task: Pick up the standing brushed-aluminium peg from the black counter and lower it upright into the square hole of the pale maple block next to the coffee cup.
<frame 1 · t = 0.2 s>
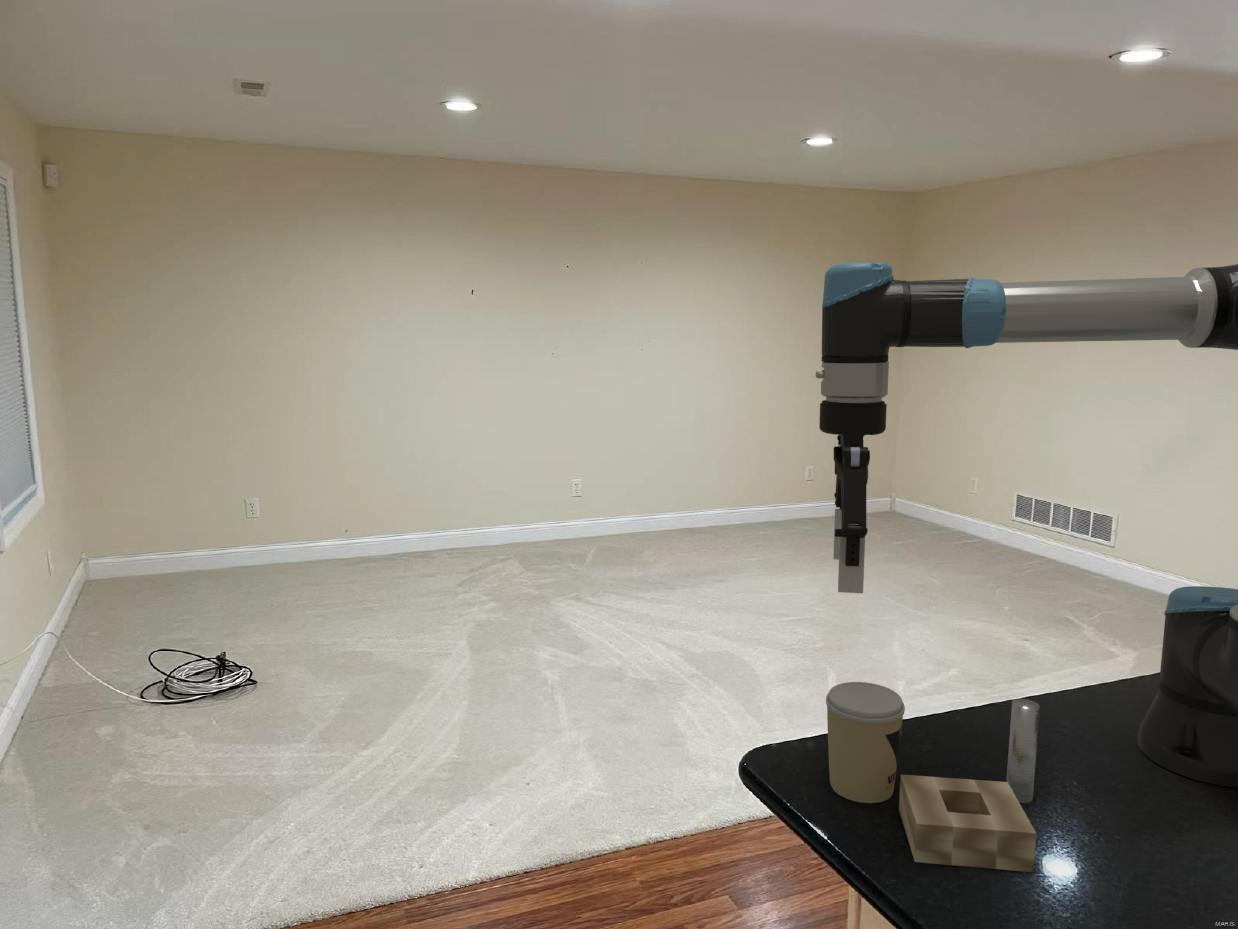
hand: (847, 574, 100), 27 cm above the countertop, fingers open, 13 cm apart
hole block: (961, 839, 93), on the countertop
coffee cup: (861, 787, 104), on the countertop
peg: (1018, 796, 102), on the countertop
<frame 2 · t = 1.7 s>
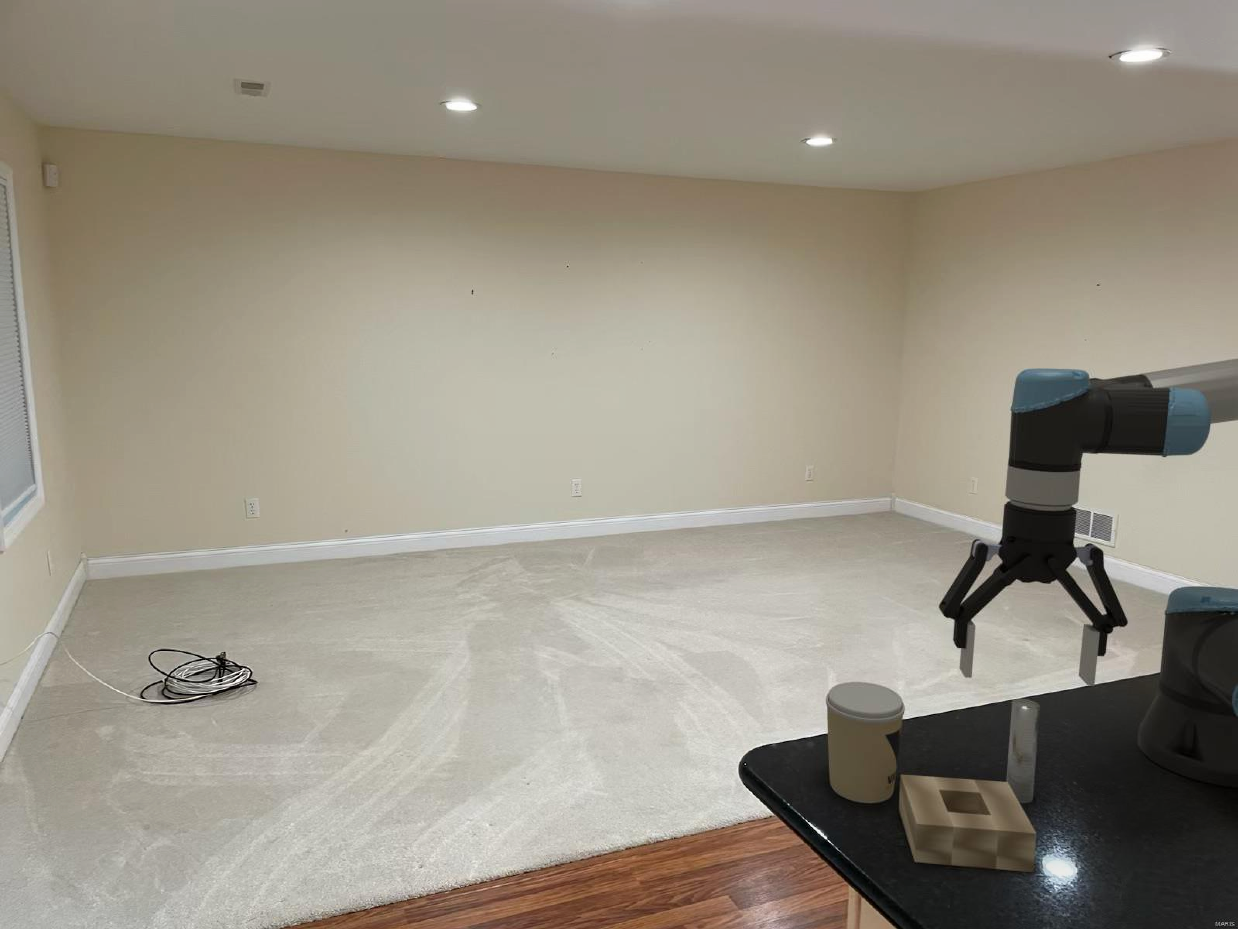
hand: (1025, 677, 99), 15 cm above the countertop, fingers open, 13 cm apart
nothing on the countertop moved.
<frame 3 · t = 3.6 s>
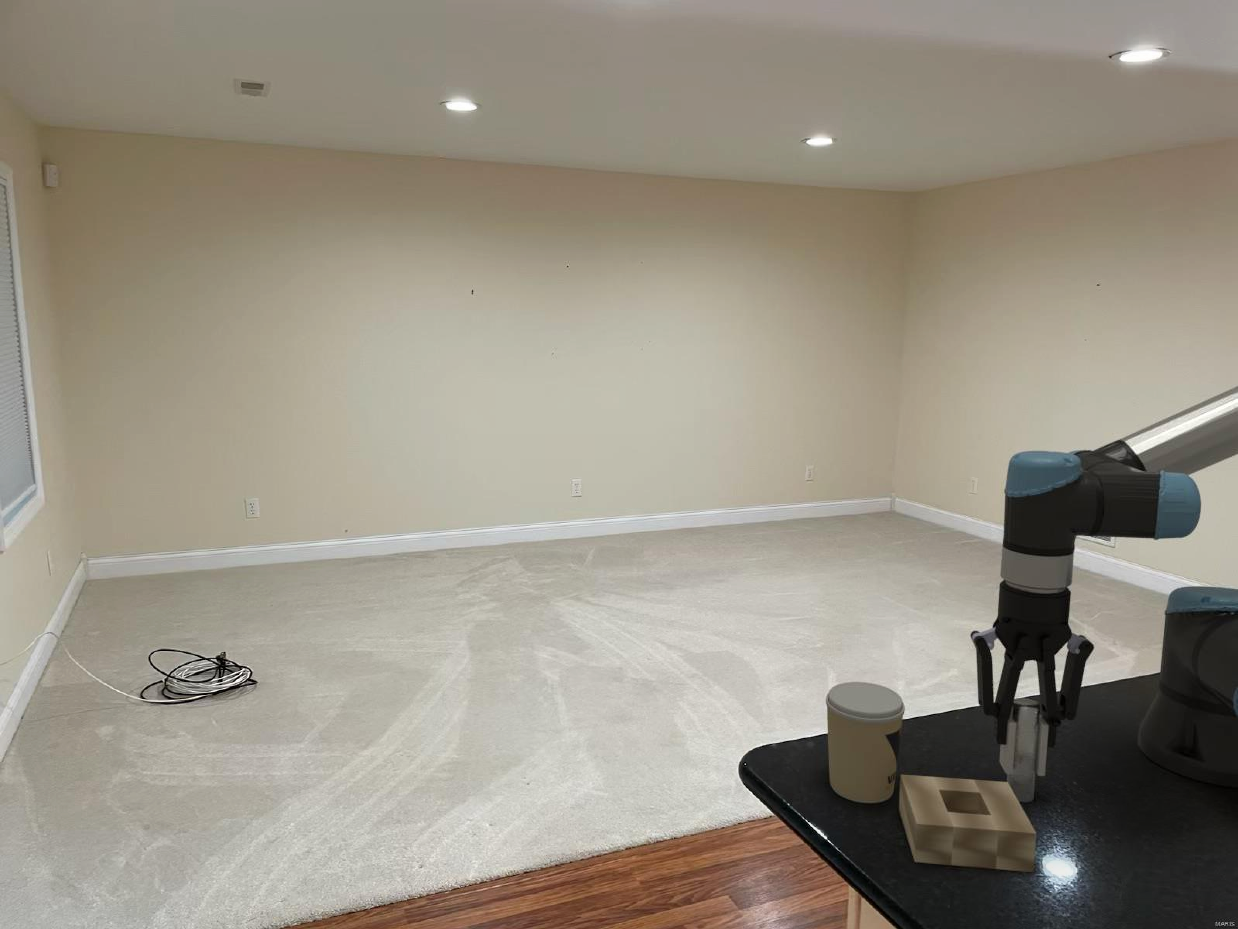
hand: (1021, 768, 101), 4 cm above the countertop, fingers closed on peg, 3 cm apart
peg: (1019, 795, 102), on the countertop, touching gripper
everything else where it was.
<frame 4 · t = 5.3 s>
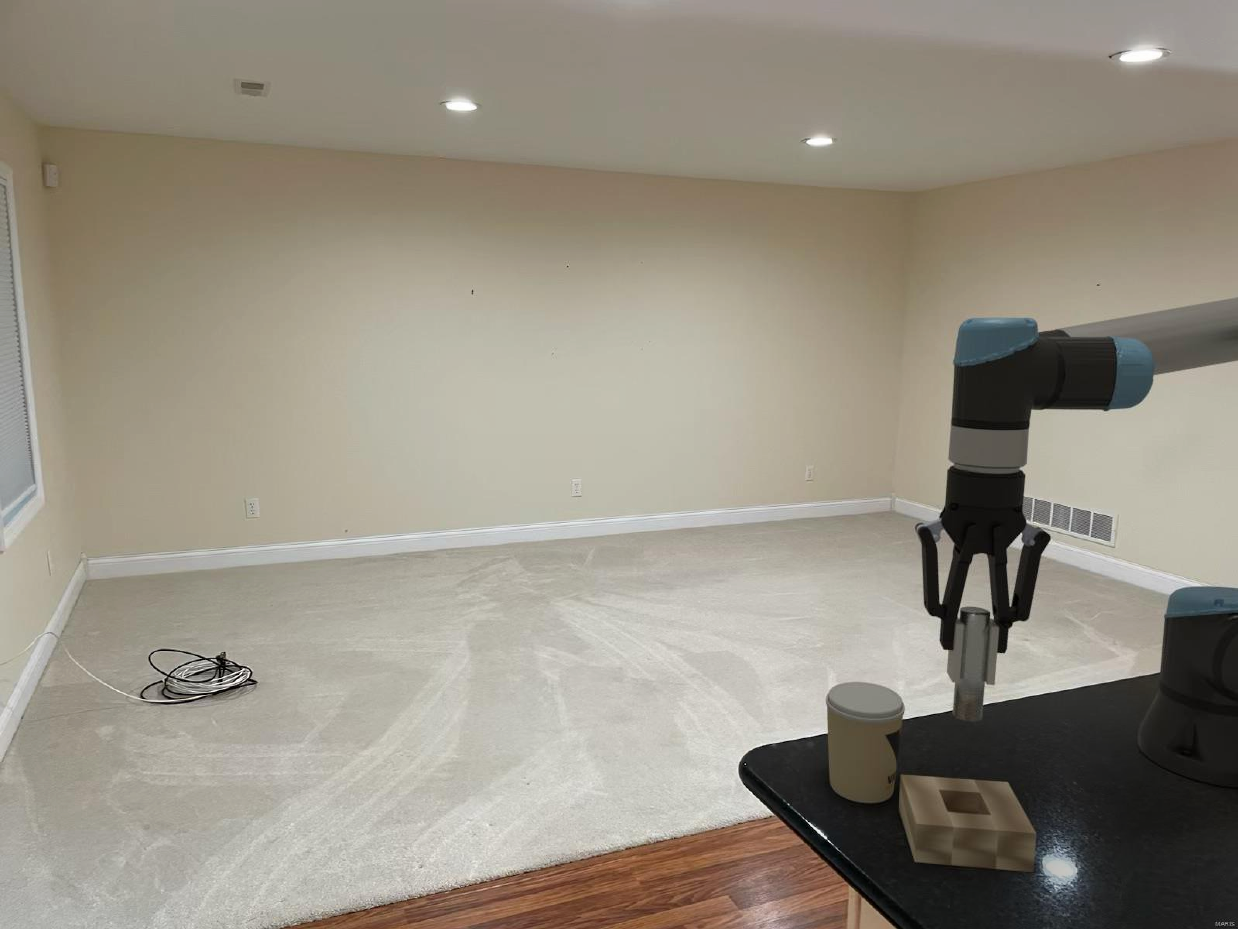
hand: (970, 678, 91), 19 cm above the countertop, fingers closed on peg, 3 cm apart
peg: (967, 715, 91), point 15 cm above the countertop, touching gripper
everything else where it was.
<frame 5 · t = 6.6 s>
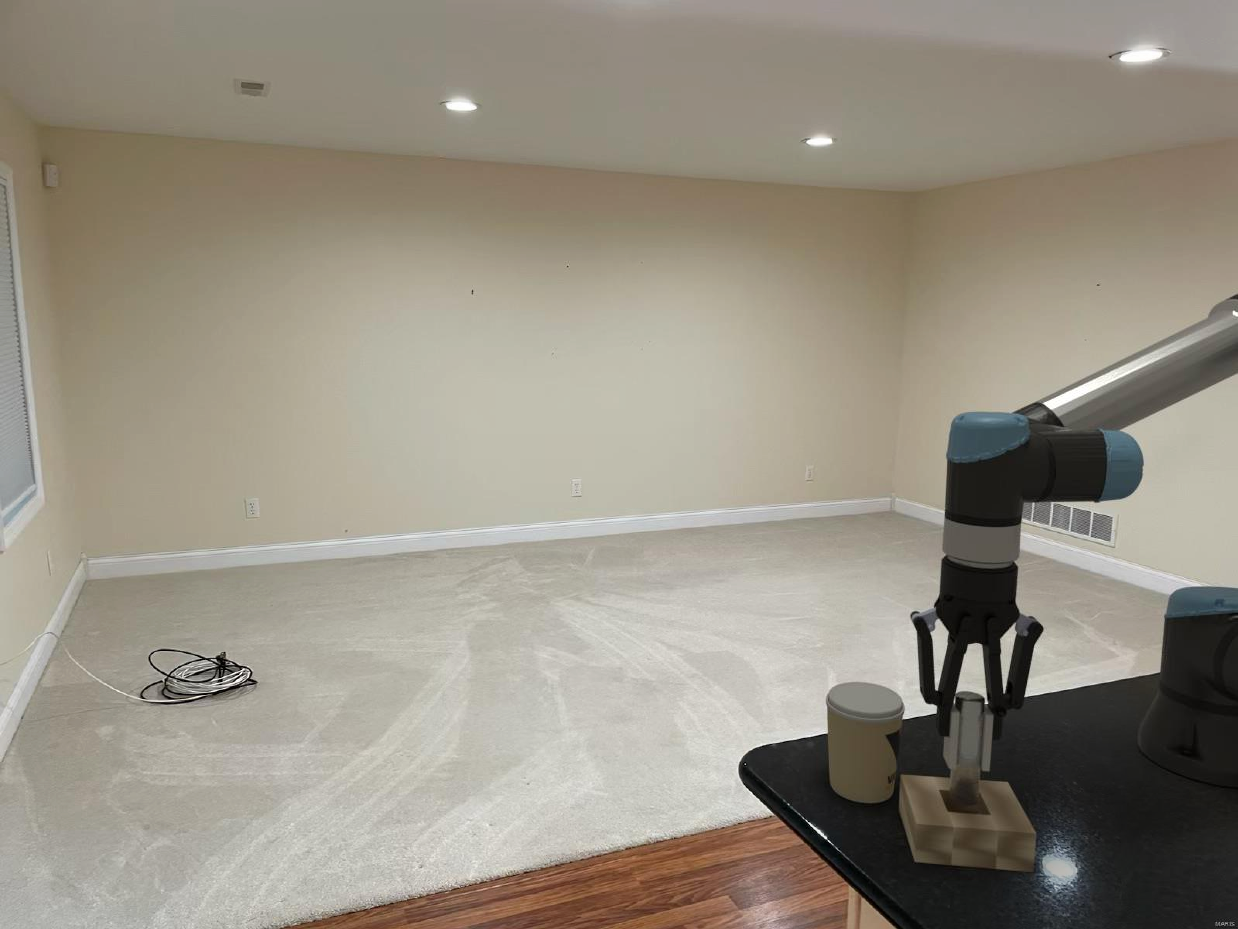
hand: (966, 763, 92), 9 cm above the countertop, fingers closed on peg, 3 cm apart
peg: (963, 798, 93), point 5 cm above the countertop, touching gripper
everything else where it was.
when the fingers open (6 cm above the countertop, at t = 7.4 s): peg drops 2 cm, on the countertop.
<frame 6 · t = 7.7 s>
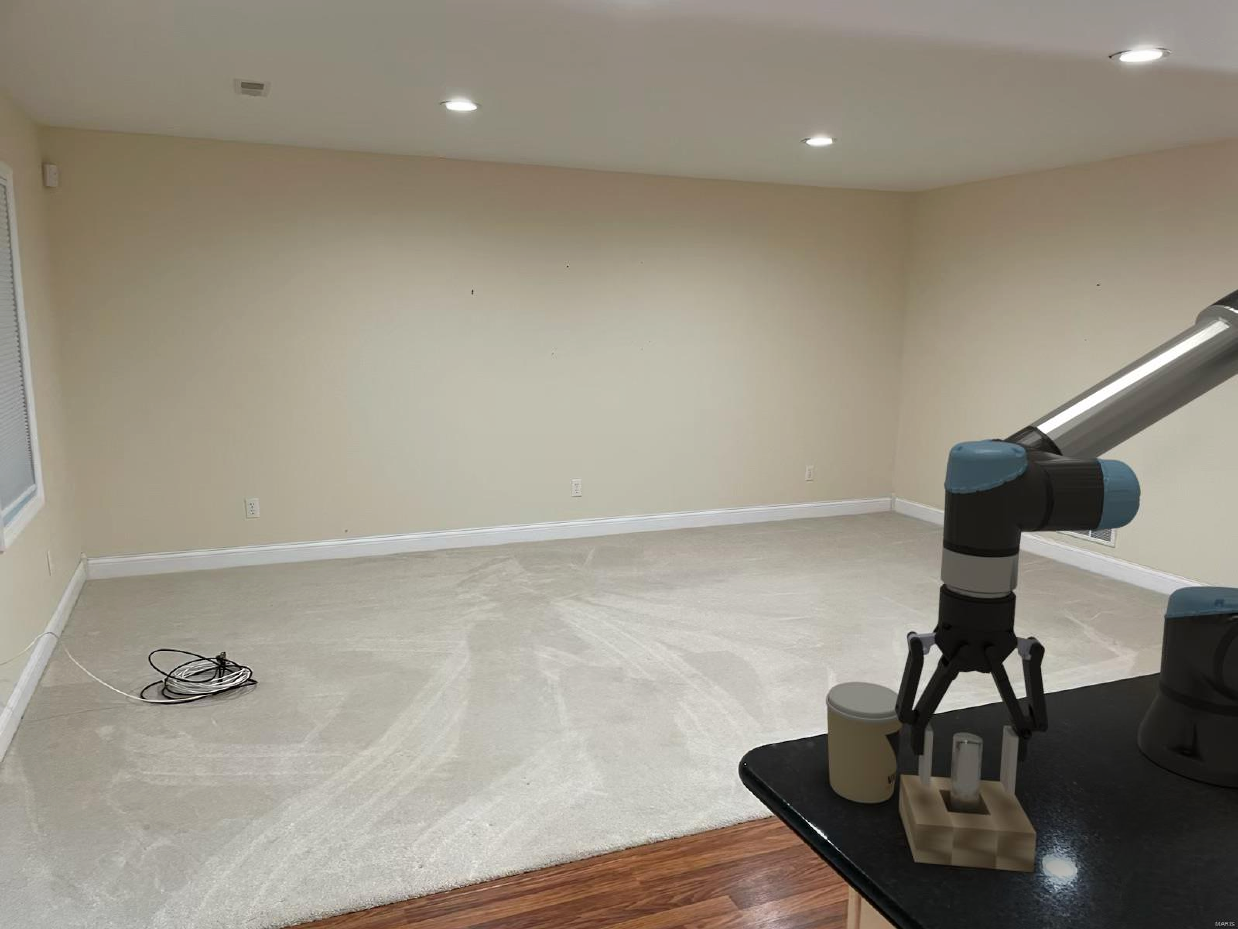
hand: (965, 783, 92), 7 cm above the countertop, fingers open, 8 cm apart
peg: (961, 838, 93), on the countertop
everything else where it was.
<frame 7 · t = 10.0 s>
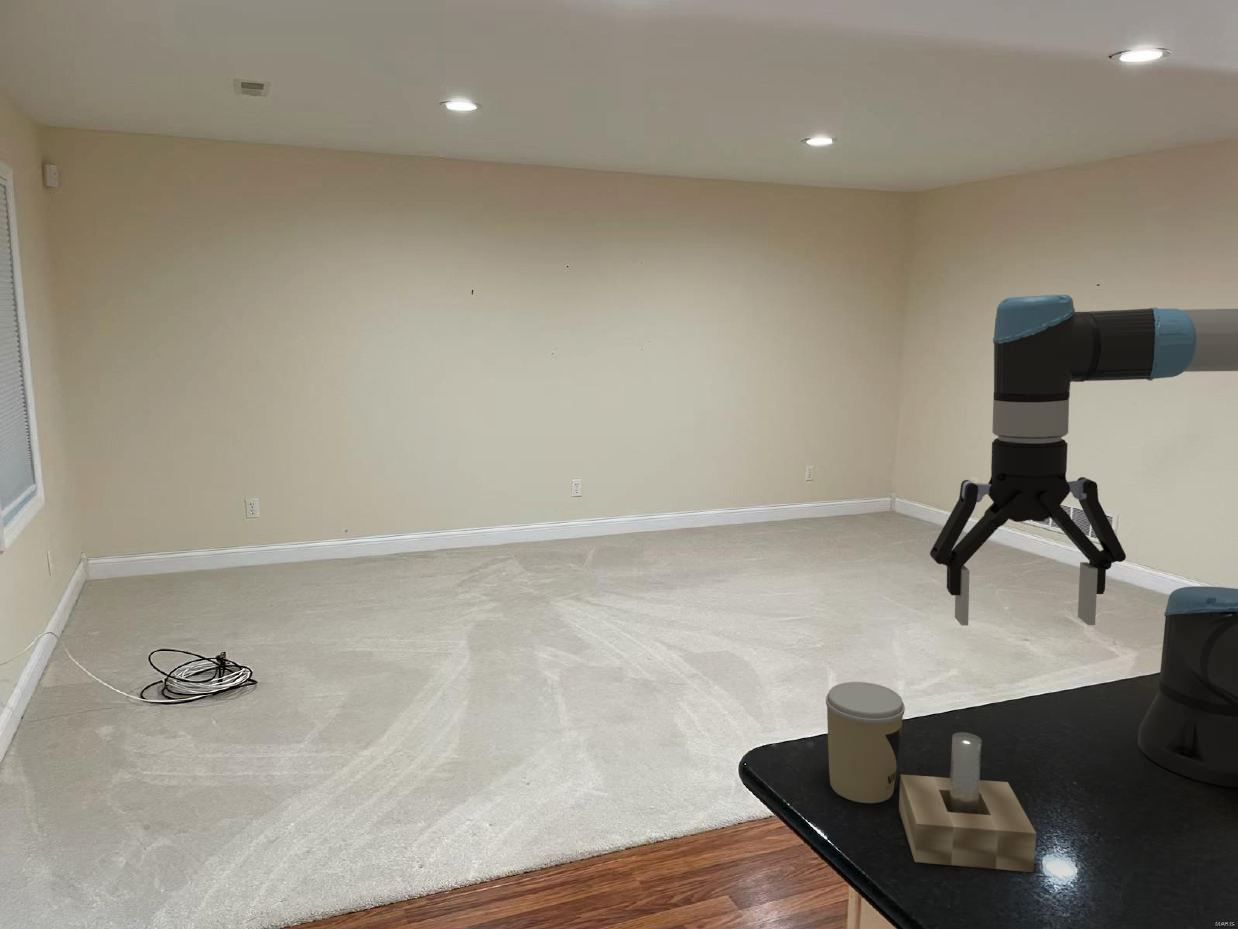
hand: (1023, 621, 95), 23 cm above the countertop, fingers open, 13 cm apart
nothing on the countertop moved.
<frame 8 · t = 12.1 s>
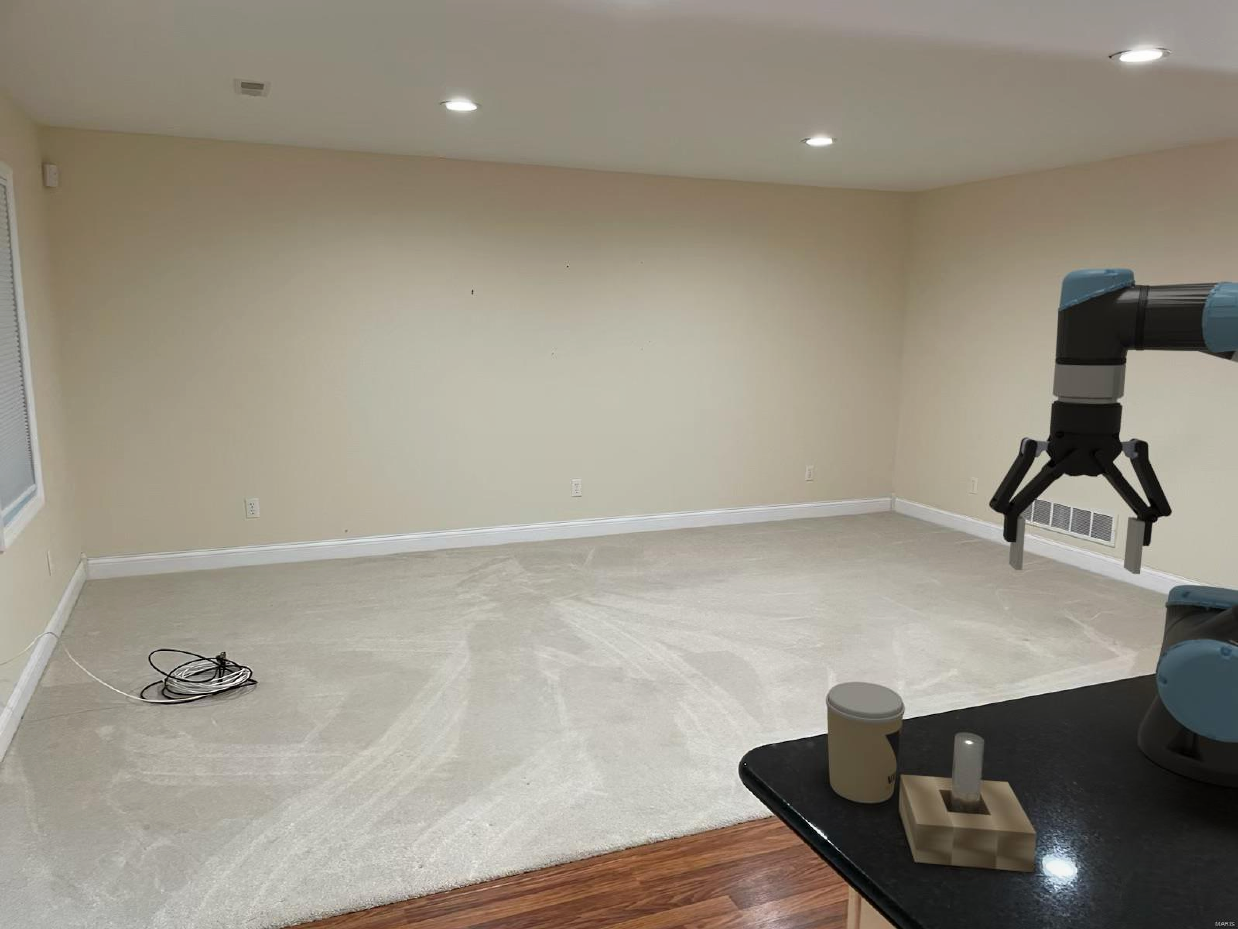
hand: (1072, 569, 104), 27 cm above the countertop, fingers open, 13 cm apart
nothing on the countertop moved.
at the end: peg 0.1 cm off-centre on the hole block, point 0.0 cm above the hole block's base; peg tilted 1°; the gripper is holding nothing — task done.
